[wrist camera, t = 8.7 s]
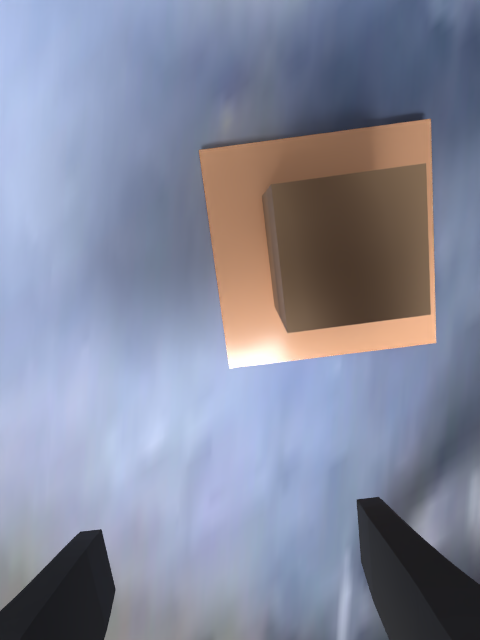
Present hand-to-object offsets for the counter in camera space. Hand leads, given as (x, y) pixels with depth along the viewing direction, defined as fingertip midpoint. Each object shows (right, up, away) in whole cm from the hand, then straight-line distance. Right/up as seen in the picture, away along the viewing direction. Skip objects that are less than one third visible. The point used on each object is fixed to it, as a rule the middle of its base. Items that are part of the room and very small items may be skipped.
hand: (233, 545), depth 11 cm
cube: (+4, +10, +7) cm, 13 cm away
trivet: (+4, +10, +8) cm, 13 cm away
